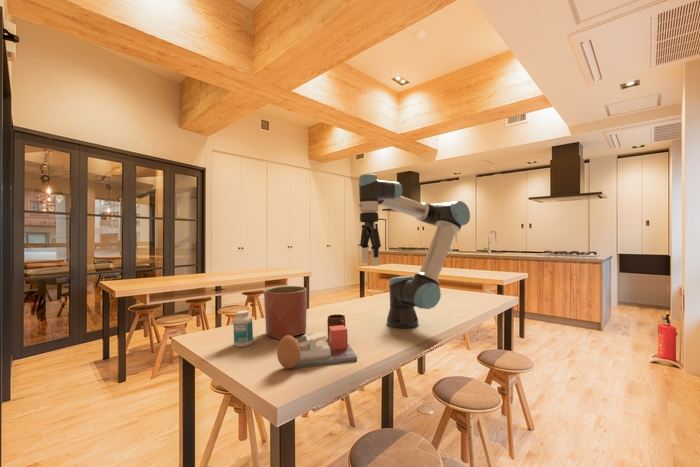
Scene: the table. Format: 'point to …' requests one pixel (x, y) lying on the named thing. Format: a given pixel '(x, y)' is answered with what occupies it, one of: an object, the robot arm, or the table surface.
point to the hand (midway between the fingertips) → (370, 264)
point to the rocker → (306, 339)
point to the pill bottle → (243, 329)
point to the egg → (288, 352)
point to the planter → (285, 311)
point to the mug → (335, 321)
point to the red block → (338, 337)
